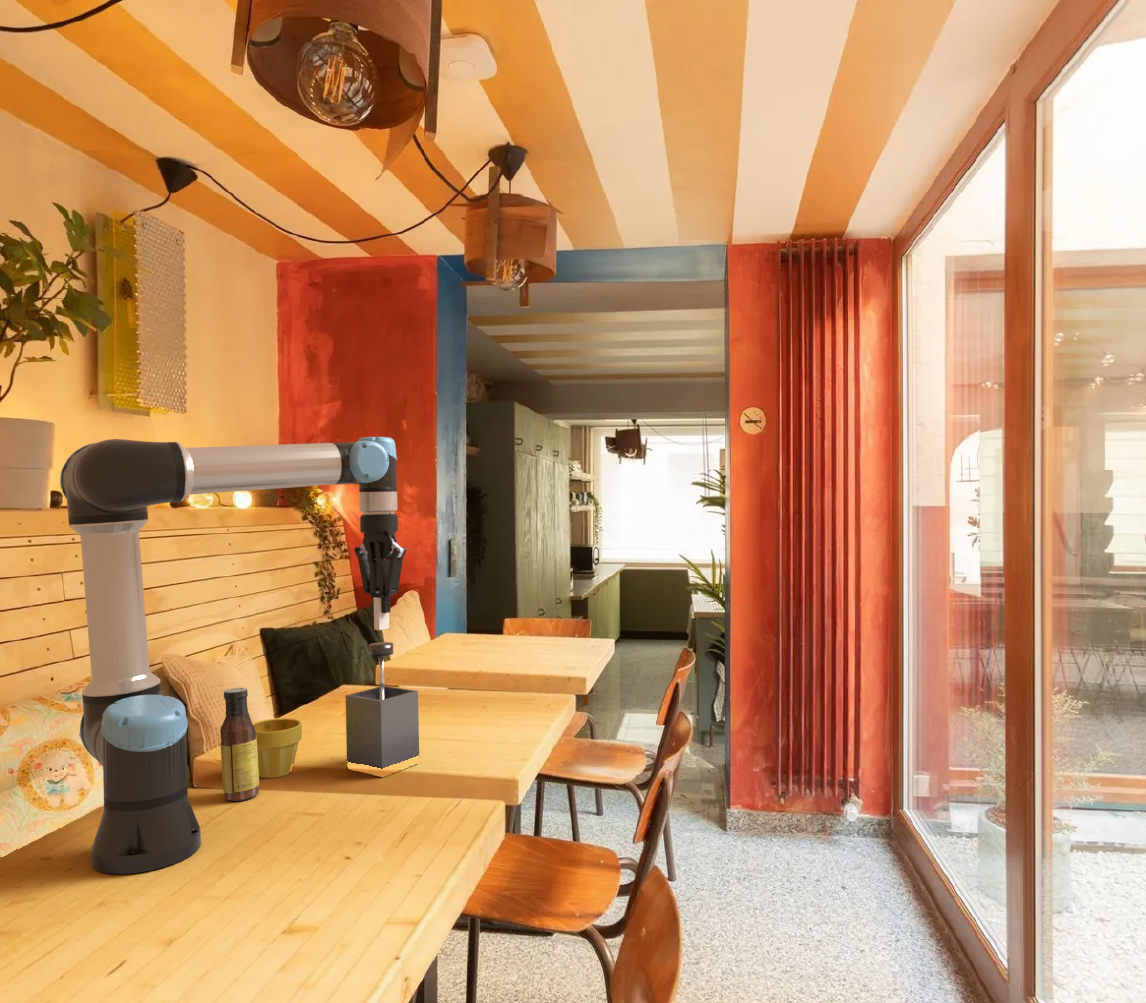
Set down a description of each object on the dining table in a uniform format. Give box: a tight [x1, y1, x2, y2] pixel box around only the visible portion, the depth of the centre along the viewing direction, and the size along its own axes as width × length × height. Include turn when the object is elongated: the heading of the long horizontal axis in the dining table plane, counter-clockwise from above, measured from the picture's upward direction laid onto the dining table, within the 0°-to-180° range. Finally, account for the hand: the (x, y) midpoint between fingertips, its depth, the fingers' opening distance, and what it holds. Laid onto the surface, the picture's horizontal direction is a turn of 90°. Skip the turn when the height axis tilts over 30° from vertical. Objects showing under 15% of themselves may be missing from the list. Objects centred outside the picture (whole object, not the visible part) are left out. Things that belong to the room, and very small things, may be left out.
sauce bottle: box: [219, 687, 260, 802], centre depth 154 cm, size 7×6×20 cm
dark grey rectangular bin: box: [345, 685, 420, 769], centre depth 171 cm, size 14×10×15 cm
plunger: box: [368, 641, 394, 700], centre depth 170 cm, size 8×8×13 cm
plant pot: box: [252, 717, 303, 779], centre depth 167 cm, size 10×10×10 cm
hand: (381, 628), depth 170 cm, fingers closed
